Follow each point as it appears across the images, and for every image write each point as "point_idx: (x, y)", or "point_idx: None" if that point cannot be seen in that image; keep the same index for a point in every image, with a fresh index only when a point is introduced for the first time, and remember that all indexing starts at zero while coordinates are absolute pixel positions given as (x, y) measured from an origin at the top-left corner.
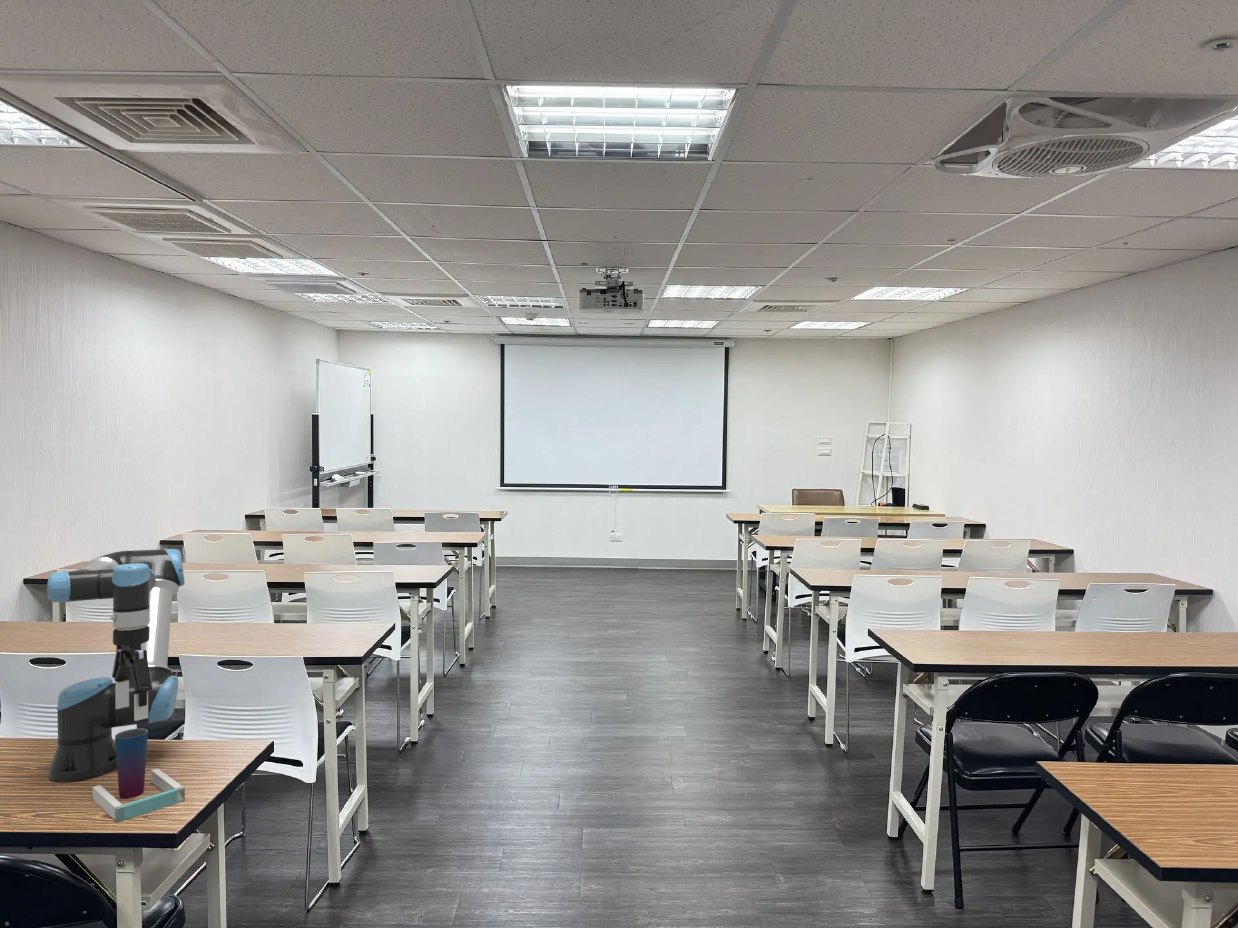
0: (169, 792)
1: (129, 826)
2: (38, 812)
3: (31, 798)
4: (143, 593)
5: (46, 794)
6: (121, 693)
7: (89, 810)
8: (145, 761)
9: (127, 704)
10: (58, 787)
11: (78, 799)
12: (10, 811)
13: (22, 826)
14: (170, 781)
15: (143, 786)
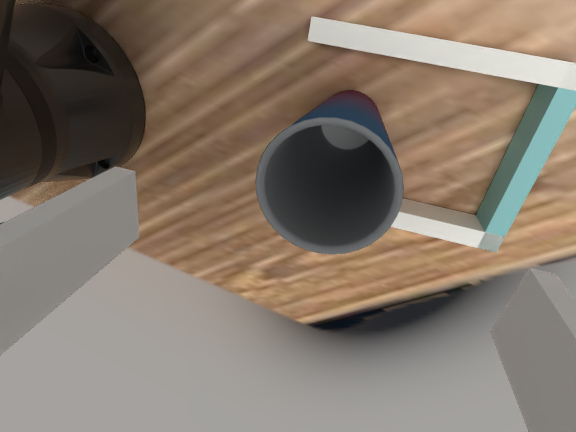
0: (565, 119)
1: (545, 235)
2: (257, 266)
3: (169, 237)
4: None
5: (170, 214)
6: (61, 271)
7: None
8: (374, 112)
9: (127, 186)
10: (147, 184)
11: None
12: (206, 281)
13: (300, 307)
14: (477, 60)
15: (373, 103)
